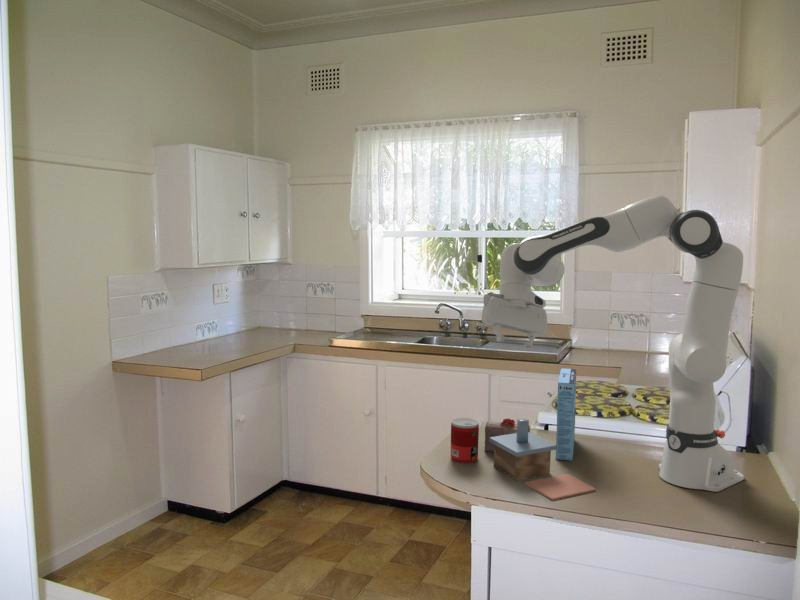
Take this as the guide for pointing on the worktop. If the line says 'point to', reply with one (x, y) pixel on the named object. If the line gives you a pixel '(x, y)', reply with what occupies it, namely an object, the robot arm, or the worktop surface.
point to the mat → (560, 486)
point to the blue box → (566, 414)
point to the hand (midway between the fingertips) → (514, 344)
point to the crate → (522, 463)
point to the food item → (498, 431)
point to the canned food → (464, 440)
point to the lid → (522, 441)
